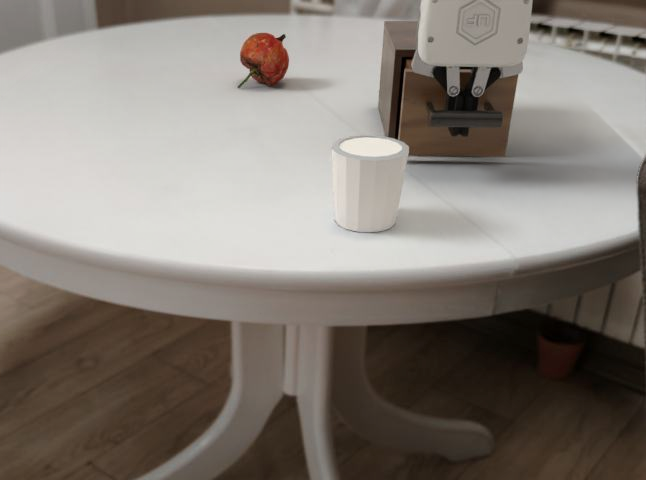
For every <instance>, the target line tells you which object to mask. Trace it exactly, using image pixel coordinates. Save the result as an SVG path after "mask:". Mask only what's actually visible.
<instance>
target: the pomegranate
mask: <svg viewBox="0 0 646 480" xmlns="http://www.w3.org/2000/svg"><path fill="white" fill-rule="evenodd" d="M286 38H287V37H286V34H285V33H282V34H281V35H279V36H278V37H276V36H275V35H273V34H272V33H269V32H256V33H253V34H251V35H250V36H249V37H248V38H247V39H246V40H245V41H244V42H243V43H242V46H241V49H240V53H239V56H240V57H239V58H240V59H239V61H240V63H241V65H242V66H243V67H245V68H246V69H248V71H249V73H248V74H247V76H246V77H245V78H244V79H243V81H241V83H240V84H239V85H237V88H238V89H240V88H241V87H242V86H243V85H244V84H245V83H247V82H248V80H249V79H250V78H252V79H253V80H254V81H256V82H258V83H262V84H265V85H267V86H269V87H270V86H271V87H272V86H275V85H277V84H278V83H279V82H280V81H281V80H283V79H284V77H285V76H286V74H287V72H288V69H289V65H290V57H289V53H288V50H287V48H285V46H284V44H283V41H284V40H285V39H286Z"/></svg>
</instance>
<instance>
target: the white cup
mask: <svg viewBox="0 0 646 480" xmlns="http://www.w3.org/2000/svg"><path fill="white" fill-rule="evenodd" d="M408 154H409V146H408V145H406V144H405V143H404V142H402V141H399V140H396V139H394V138H389V137H385V135H384V136H383V135H373V134H372V135H371V134H362V135H349V136H346V137H341V138H339V139H337V140H335V141H333V142H332V143H331V171H332V189H333V190H332V192H333V212H334V221H335V223H336V224H337V225H338V226H339V227H341V228H343V229H346V230H348V231H352V232H353V231H354V232H358V233H376V232H378V233H379V232H383V231H387V230H389V229H391V228H392V227H394V226H395V225H396V221H397V217H398V216H397V215H398V210H399V205H400V200H401V196H402V190H403V185H404V181H405V174H406V169H407V164H408V158H409V155H408Z"/></svg>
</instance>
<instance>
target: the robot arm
mask: <svg viewBox="0 0 646 480" xmlns="http://www.w3.org/2000/svg"><path fill="white" fill-rule="evenodd" d="M533 1H534V0H420V5H419V13H418V19H417V21H418V25H417V34H416V51H415V54H414V57H413V60H412V63H411V68H412V70H413V72H415V73H418V74H421V75H425V76H429V77H433V78H435V79H436V80H437V81H438V82H439V83H440V85H441V86H442V87H443V88H444V89H445V90H446V92H447V94H446V102H445V110H464V111H477V108H478V101H479V97H480V96H481V95H482V94H483V93H484V91H485V90H486V89H487V88H488V87H489V86H490V85H492V84H493V83H494V82H495V81H496V80H497V79H499V78H502V77H503V78H504V77H509V76H513V75H518V76H519V75H520V74H521V73H522V72H523V69H524V64H523V62H524V60H525V58H526V54H527V51H528V45H529V39H530V32H531V24H532V23H531V21H532V12H533ZM459 67H472V69H471V73H470V76H469V80H468V84H466V85H465V89H463V91H462V89H461V87H460V73H459ZM448 129H449V131H450V134H451V136H457V135H459V133H460V135H462V137H468V132H469V127H448Z"/></svg>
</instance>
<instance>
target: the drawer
mask: <svg viewBox="0 0 646 480" xmlns="http://www.w3.org/2000/svg"><path fill="white" fill-rule="evenodd" d="M412 60H413V57H402V63H401V75H400V86H399V98H398V109H397V121H396V124H397V127H398V131H399V135H398V140H399V141H402V142H404V143H405V144H406V145H408V146H409V154H408V156H422V157H423V156H426V157H427V156H429V157H432V156H434V157H435V156H436V157H438V156H439V157H497V158H498V157H500V158H501V157H502V158H503V157H506V153H507V146H508V140H509V135H510V127H511V124H512V123H511V122H512V117H513V112H514V111H513V110H514V105H515V99H516V93H517V85H518V81H519V74H518V75H513V76H509V77H504V78H503V77H502V78H499V79H497V80H496V81H495V82H494V83H493V84H492V85H490V86H489V87H488V88H487V89H486V90H485V91H484V93H483V94H482V95H481V96H480V97H479V101H478V108H477V111H464V110H445V102H446V94H447V92H446V90H445V89H444V88H443V87H442V86H441V85H440V83H439V82H438V81H437V80H436V79H435V78H433V77H429V76H425V75H421V74H418V73H415V72H413V70H412V68H411V63H412ZM471 69H472V67H459V73H460V87H461V89H462V91H463V89H465V85H466V84H468V80H469V76H470V73H471ZM448 127H469V132H468V137H462V135H460V133H459V135H457V136H451V134H450V131H449V129H448Z"/></svg>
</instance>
